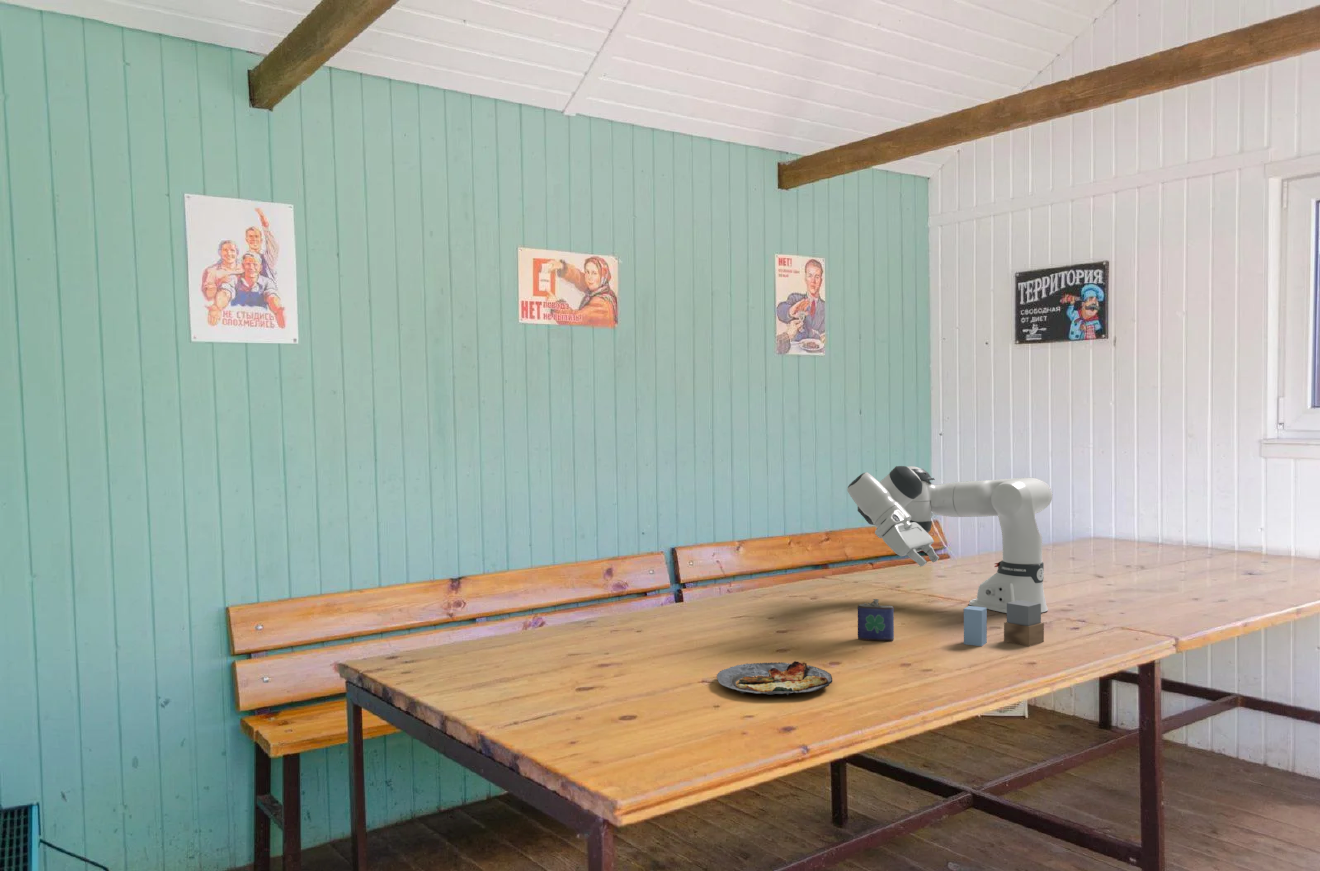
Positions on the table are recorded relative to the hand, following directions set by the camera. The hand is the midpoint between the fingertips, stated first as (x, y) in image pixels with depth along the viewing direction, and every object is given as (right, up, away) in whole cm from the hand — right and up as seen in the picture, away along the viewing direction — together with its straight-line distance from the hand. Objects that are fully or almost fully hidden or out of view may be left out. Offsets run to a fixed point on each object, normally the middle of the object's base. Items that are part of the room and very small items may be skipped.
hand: (930, 562), depth 253 cm
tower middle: (+23, -15, -4) cm, 27 cm away
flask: (-15, -20, -1) cm, 25 cm away
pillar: (+10, -20, -6) cm, 23 cm away
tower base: (+23, -20, -4) cm, 30 cm away
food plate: (-46, -21, -42) cm, 66 cm away
